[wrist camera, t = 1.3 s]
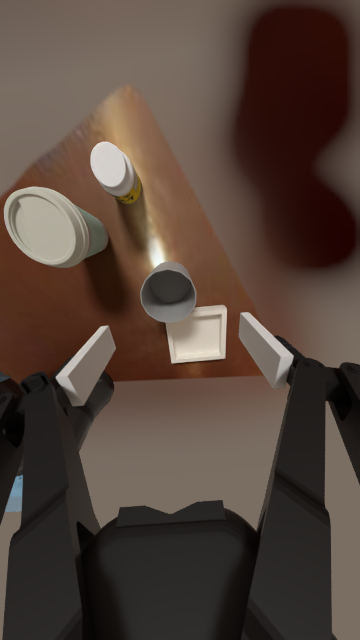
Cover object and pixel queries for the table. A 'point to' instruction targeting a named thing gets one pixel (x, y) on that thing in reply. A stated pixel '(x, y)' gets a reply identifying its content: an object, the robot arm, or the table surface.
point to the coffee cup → (52, 227)
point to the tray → (198, 335)
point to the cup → (168, 293)
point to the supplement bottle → (116, 173)
